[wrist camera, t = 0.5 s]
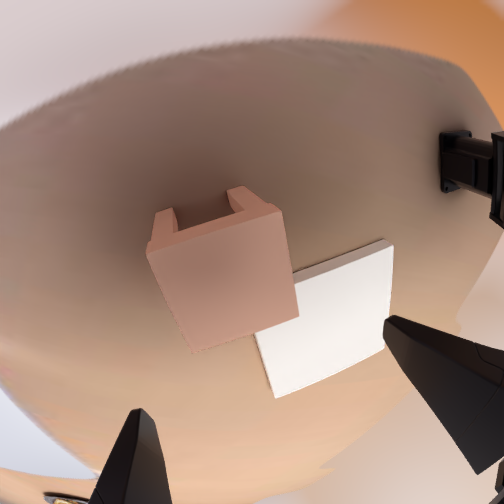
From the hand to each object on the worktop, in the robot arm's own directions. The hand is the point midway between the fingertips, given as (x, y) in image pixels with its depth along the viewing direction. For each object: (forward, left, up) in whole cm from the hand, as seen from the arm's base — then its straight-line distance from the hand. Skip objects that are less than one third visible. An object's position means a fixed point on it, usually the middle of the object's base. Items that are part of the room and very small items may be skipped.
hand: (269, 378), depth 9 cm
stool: (0, 0, -13) cm, 13 cm away
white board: (-8, +12, -13) cm, 19 cm away
